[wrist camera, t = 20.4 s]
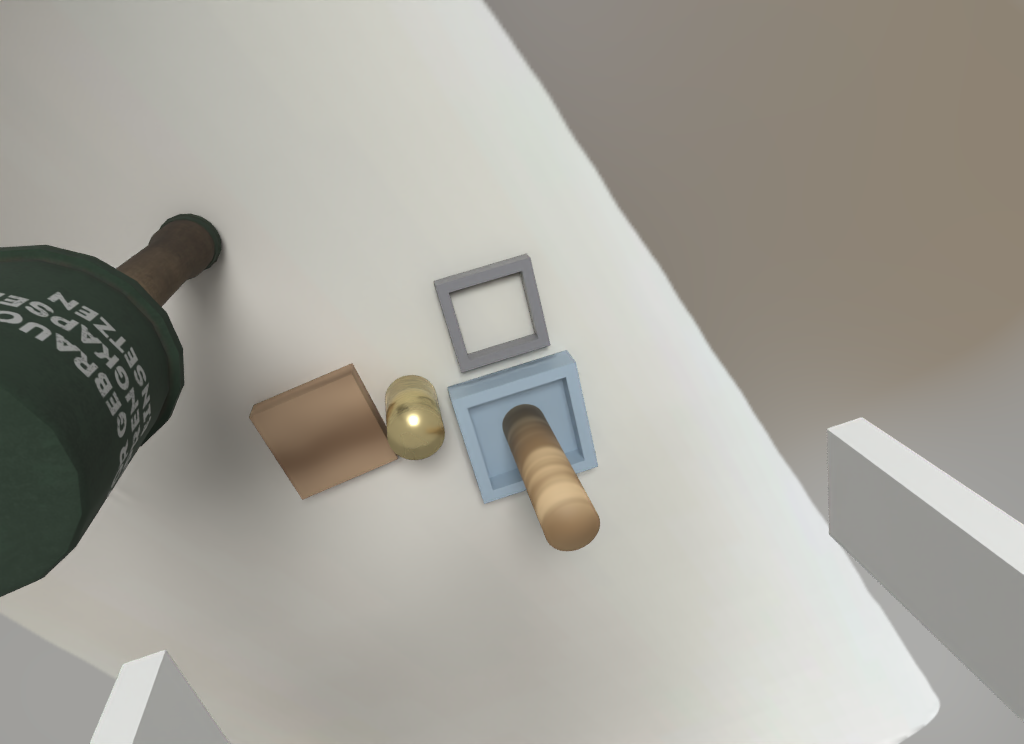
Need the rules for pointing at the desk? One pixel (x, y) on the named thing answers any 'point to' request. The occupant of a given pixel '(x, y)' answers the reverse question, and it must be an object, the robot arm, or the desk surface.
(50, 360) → the stick grenade
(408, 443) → the cylinder
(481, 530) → the desk surface
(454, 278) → the holder
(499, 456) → the tray
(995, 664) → the robot arm
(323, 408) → the flat cardboard box
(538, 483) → the dowel
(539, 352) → the desk surface
